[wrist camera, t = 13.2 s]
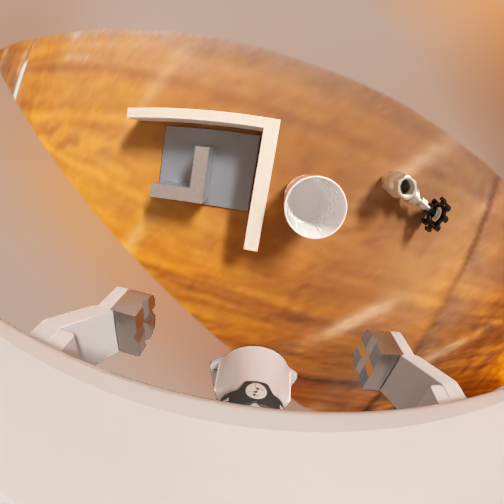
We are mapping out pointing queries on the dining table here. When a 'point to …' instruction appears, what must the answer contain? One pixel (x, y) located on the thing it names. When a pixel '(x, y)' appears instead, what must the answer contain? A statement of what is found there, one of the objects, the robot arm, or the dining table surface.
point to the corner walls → (237, 121)
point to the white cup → (314, 206)
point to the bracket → (199, 180)
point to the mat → (225, 164)
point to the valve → (415, 198)
